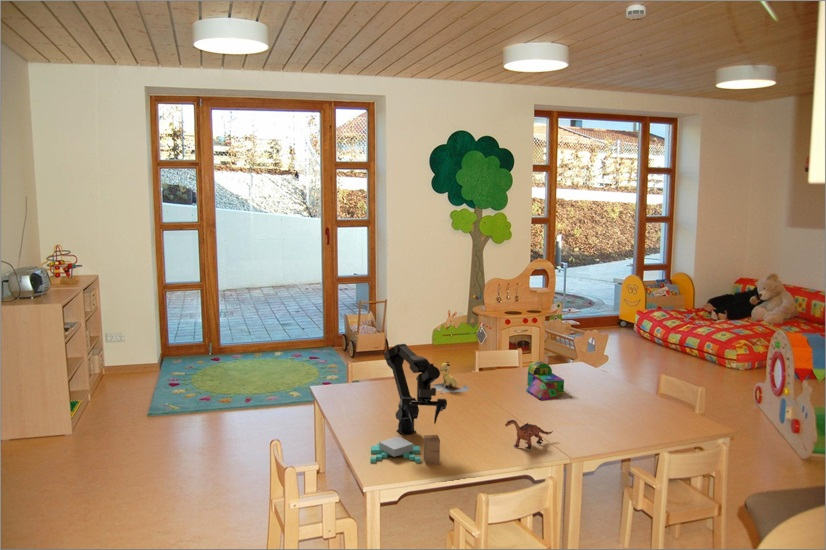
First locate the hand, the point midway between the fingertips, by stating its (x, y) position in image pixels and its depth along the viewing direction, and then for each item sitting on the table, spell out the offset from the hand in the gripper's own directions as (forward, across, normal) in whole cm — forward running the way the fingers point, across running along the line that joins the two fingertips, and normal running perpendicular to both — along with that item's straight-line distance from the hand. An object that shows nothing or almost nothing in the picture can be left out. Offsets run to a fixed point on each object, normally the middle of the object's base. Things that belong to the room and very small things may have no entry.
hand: (423, 423), depth 268 cm
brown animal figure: (+4, +45, +14) cm, 48 cm away
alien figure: (+10, -11, +12) cm, 19 cm away
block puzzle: (-43, +71, +72) cm, 110 cm away
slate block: (+8, -10, +9) cm, 16 cm away
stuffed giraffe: (-46, +22, +79) cm, 94 cm away
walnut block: (+14, +4, +3) cm, 15 cm away
